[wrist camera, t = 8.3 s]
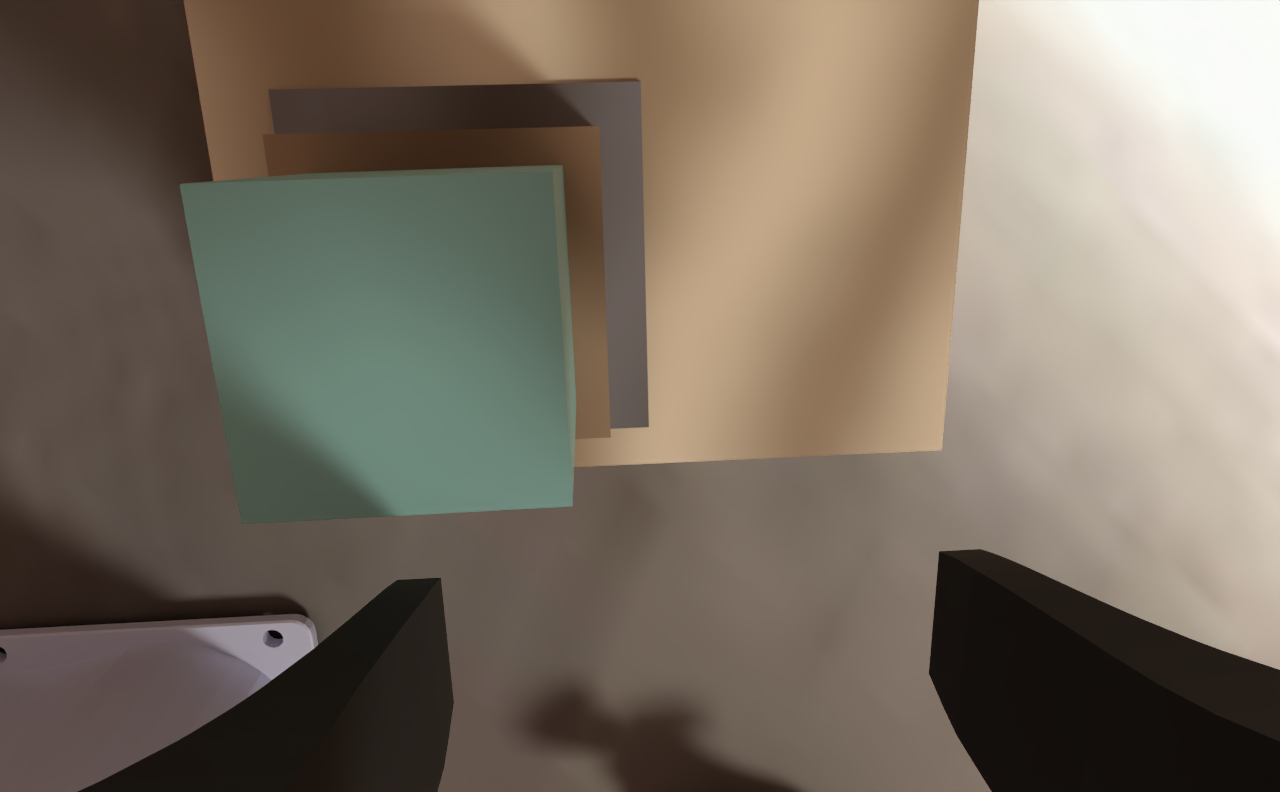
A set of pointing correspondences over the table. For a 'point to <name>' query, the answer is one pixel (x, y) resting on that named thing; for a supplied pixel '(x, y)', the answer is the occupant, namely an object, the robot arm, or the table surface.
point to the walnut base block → (497, 150)
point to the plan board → (680, 185)
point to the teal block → (390, 339)
